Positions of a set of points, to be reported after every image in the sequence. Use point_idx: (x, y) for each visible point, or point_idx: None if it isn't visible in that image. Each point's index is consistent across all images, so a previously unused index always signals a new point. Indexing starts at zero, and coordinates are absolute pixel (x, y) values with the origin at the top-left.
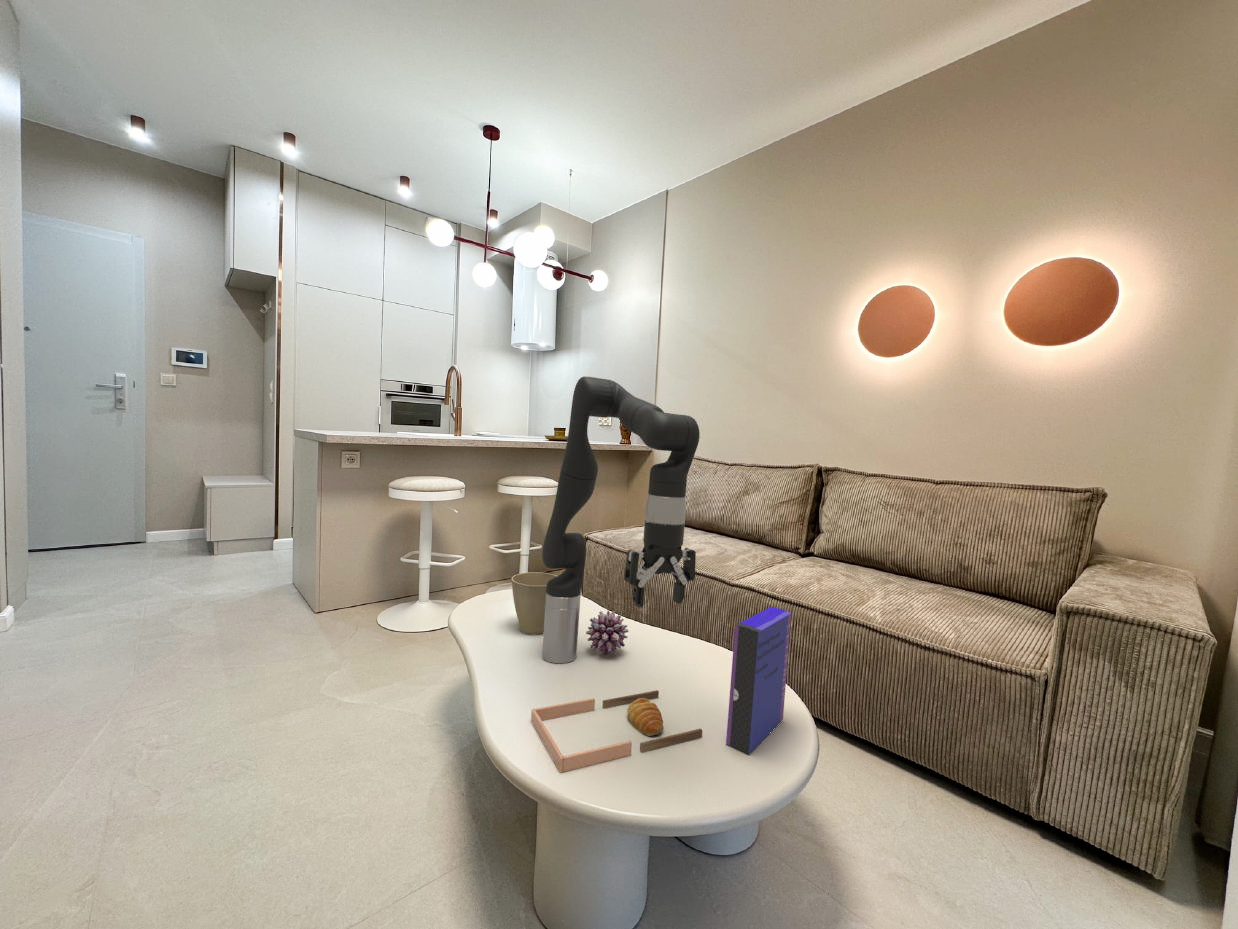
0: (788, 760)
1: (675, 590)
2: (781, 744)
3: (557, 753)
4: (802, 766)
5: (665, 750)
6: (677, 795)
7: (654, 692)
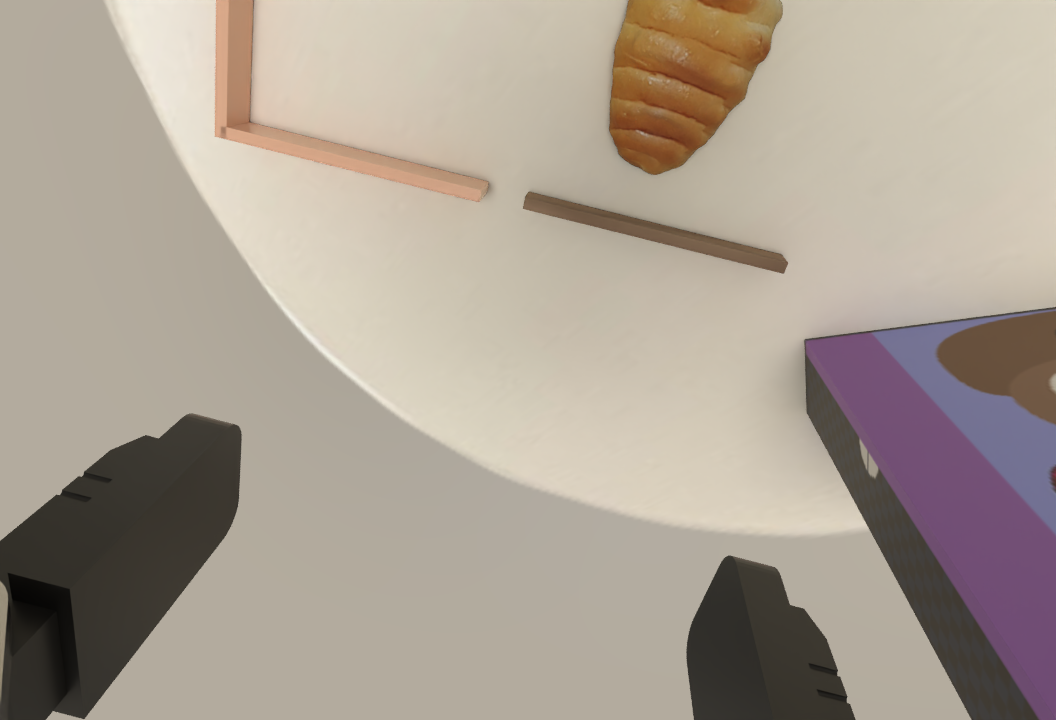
0: None
1: (737, 700)
2: None
3: (216, 97)
4: None
5: (606, 240)
6: (483, 393)
7: None
